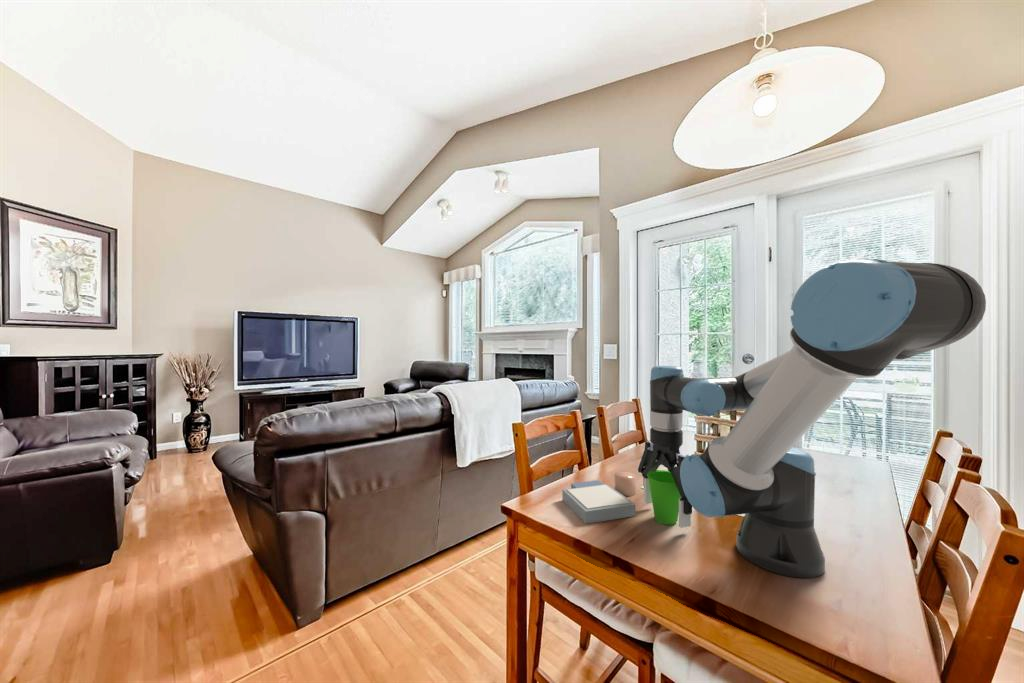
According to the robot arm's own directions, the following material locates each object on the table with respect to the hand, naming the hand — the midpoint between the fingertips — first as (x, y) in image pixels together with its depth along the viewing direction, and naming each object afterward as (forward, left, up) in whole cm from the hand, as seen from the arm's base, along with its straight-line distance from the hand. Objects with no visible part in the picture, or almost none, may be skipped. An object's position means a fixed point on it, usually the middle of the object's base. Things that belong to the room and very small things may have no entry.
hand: (665, 513), depth 96 cm
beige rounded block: (+18, 0, -2) cm, 18 cm away
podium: (+11, +13, -2) cm, 17 cm away
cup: (0, 0, -2) cm, 2 cm away
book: (+21, +10, -2) cm, 23 cm away
